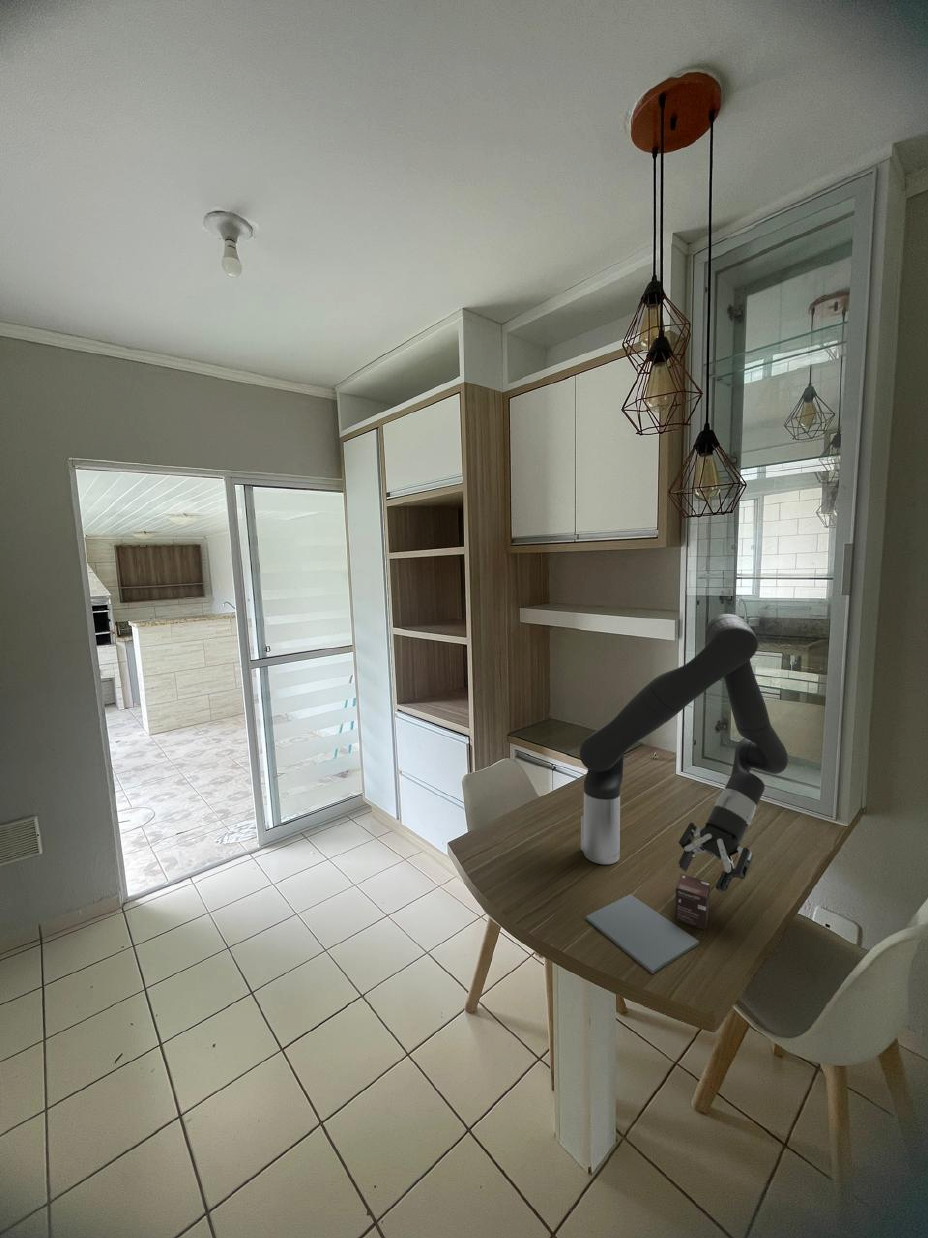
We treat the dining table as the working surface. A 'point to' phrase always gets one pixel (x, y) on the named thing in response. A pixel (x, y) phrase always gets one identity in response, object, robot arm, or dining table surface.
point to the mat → (642, 932)
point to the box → (692, 901)
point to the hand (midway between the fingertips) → (700, 879)
